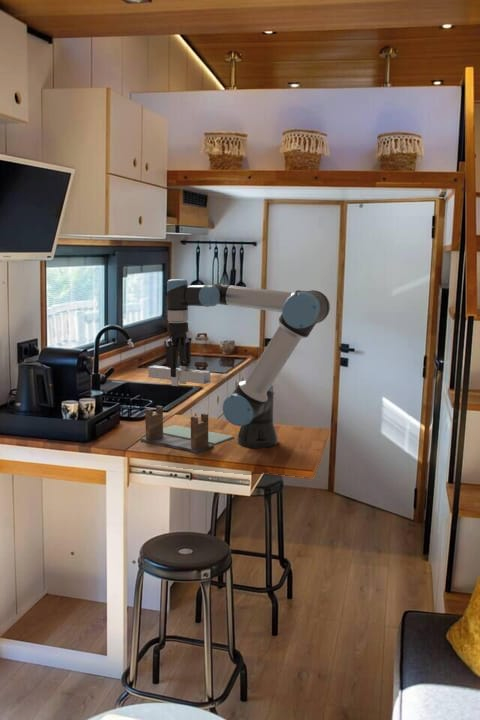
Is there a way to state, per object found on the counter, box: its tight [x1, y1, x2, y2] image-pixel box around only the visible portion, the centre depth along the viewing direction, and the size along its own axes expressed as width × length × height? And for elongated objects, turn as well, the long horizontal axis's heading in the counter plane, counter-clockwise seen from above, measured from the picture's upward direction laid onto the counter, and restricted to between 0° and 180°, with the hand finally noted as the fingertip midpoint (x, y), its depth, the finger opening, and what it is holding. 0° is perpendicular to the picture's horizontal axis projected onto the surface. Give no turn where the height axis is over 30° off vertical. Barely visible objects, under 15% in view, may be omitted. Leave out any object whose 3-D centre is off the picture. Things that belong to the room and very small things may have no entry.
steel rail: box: [147, 365, 211, 385], centre depth 257 cm, size 26×4×4 cm, turn 57°
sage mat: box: [163, 424, 235, 445], centre depth 272 cm, size 30×12×1 cm, turn 55°
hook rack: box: [140, 405, 215, 454], centre depth 258 cm, size 28×9×12 cm, turn 55°
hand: (178, 384), depth 257 cm, fingers closed on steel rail, 4 cm apart
